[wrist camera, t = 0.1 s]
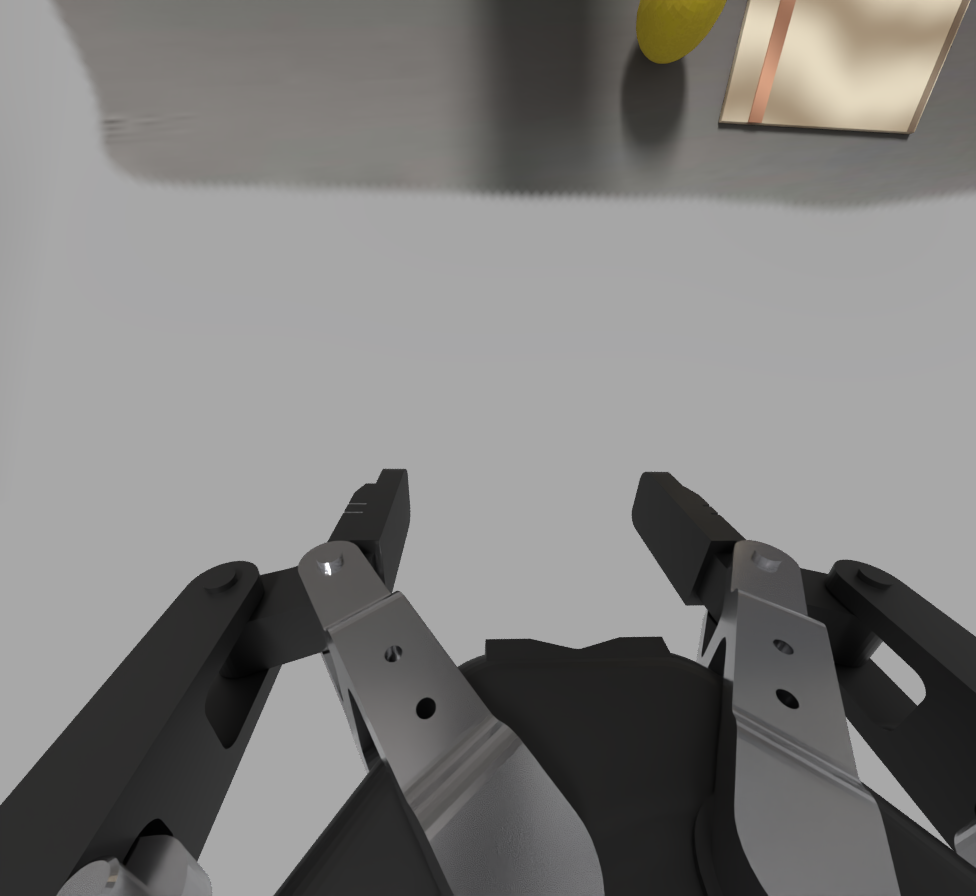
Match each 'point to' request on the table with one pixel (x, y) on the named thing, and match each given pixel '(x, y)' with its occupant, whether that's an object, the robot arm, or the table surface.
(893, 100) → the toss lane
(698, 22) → the lemon
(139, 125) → the table surface
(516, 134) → the table surface
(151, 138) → the table surface
